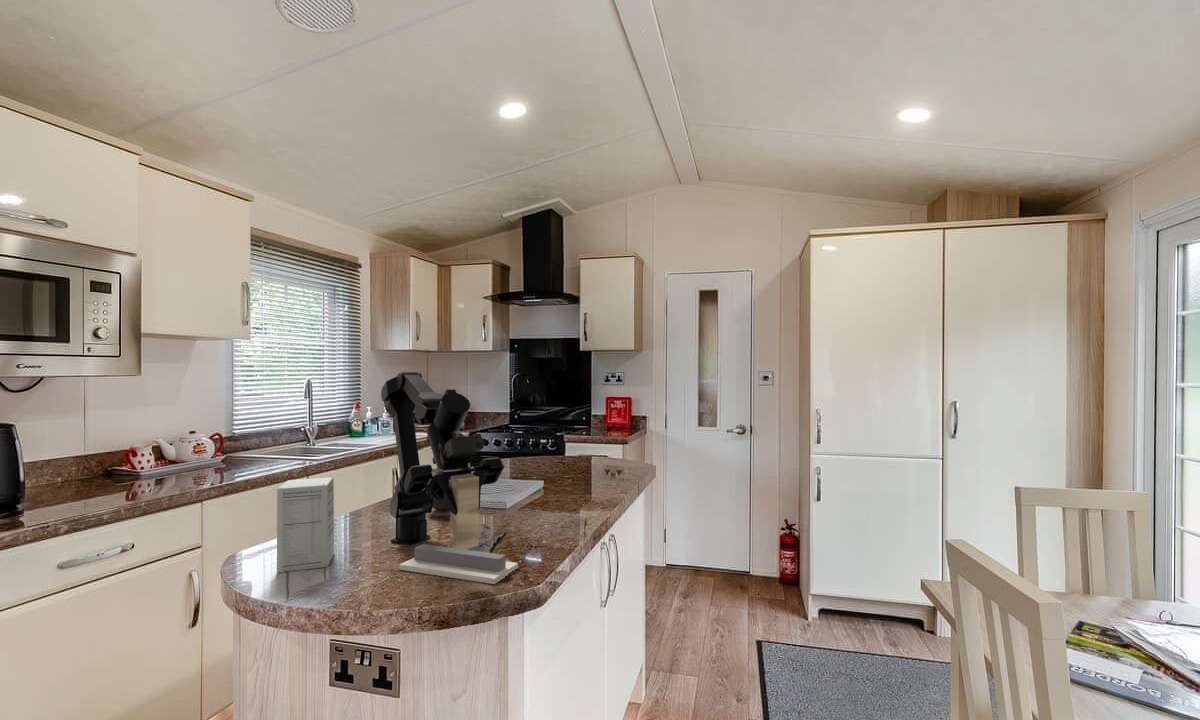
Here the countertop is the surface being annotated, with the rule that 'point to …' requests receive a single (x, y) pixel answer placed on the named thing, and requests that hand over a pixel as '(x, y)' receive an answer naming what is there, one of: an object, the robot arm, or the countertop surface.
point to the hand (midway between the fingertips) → (467, 511)
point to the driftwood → (486, 541)
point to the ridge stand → (459, 564)
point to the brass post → (465, 512)
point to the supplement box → (305, 524)
